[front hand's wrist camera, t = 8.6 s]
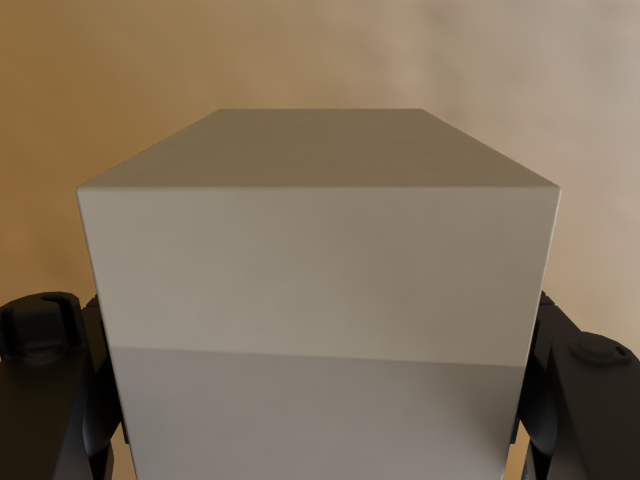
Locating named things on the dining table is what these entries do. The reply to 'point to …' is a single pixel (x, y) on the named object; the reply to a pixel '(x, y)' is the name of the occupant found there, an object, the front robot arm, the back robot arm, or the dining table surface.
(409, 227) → the post
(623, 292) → the dining table surface
